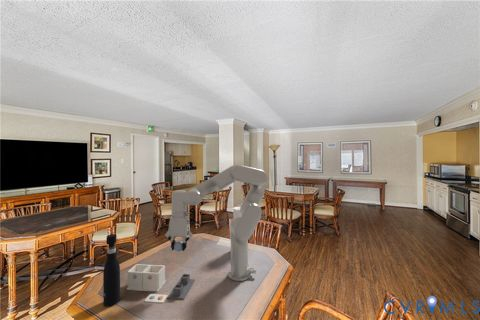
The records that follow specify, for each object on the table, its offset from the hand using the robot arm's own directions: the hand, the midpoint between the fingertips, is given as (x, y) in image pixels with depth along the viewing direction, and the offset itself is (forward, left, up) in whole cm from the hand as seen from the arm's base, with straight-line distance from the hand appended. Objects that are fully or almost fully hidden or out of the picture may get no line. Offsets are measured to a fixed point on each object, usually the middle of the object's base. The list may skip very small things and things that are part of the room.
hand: (178, 249), depth 106 cm
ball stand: (-3, +4, -18) cm, 19 cm away
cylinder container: (-27, -43, -18) cm, 54 cm away
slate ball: (0, 0, -1) cm, 1 cm away
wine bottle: (+25, +16, -18) cm, 35 cm away
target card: (+6, +12, -18) cm, 22 cm away
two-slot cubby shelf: (+16, +3, -18) cm, 24 cm away
